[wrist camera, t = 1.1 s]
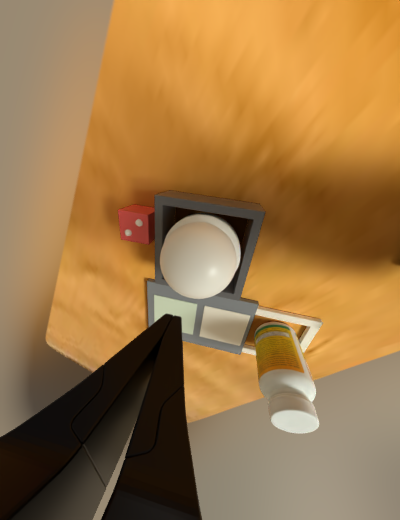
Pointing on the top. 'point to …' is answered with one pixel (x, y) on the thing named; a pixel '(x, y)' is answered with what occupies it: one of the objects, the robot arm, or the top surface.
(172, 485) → the robot arm
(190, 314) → the game board
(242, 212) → the dome housing
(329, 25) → the top surface
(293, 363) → the supplement bottle
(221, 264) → the dome
